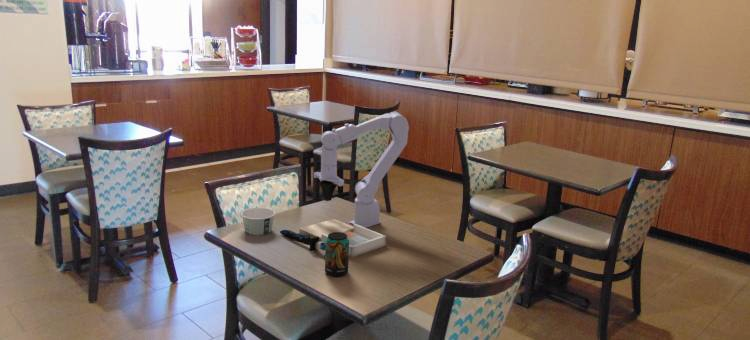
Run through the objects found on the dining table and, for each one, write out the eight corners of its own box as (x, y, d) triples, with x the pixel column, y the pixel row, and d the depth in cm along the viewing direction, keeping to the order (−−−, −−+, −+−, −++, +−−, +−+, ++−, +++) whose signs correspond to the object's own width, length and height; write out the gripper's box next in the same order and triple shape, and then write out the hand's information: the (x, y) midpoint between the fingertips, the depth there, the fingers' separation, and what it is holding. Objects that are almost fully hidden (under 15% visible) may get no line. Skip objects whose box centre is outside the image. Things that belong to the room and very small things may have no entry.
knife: (341, 257, 179) (340, 243, 178) (333, 259, 177) (333, 245, 176) (286, 237, 201) (285, 225, 200) (279, 239, 199) (278, 227, 198)
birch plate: (333, 223, 211) (333, 218, 210) (355, 233, 203) (355, 227, 202) (299, 233, 200) (299, 228, 199) (321, 243, 192) (321, 238, 191)
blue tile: (358, 240, 194) (358, 235, 193) (367, 244, 191) (367, 239, 190) (348, 243, 191) (348, 238, 190) (357, 247, 188) (357, 242, 187)
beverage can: (329, 279, 166) (330, 241, 163) (321, 269, 172) (322, 232, 169) (351, 275, 169) (352, 238, 166) (343, 266, 175) (344, 230, 172)
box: (355, 233, 203) (355, 223, 202) (385, 245, 193) (386, 235, 192) (321, 243, 192) (321, 234, 191) (351, 257, 182) (351, 247, 181)
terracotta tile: (349, 236, 197) (349, 231, 196) (358, 240, 194) (358, 235, 193) (339, 239, 194) (339, 234, 193) (348, 243, 191) (348, 238, 190)
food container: (234, 228, 202) (234, 211, 200) (264, 222, 210) (264, 205, 208) (252, 239, 193) (252, 221, 192) (281, 231, 201) (282, 214, 199)
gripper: (307, 162, 206) (307, 197, 210) (334, 170, 197) (333, 207, 200) (322, 159, 211) (321, 194, 215) (348, 167, 202) (347, 203, 205)
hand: (328, 200), depth 208 cm, fingers closed
